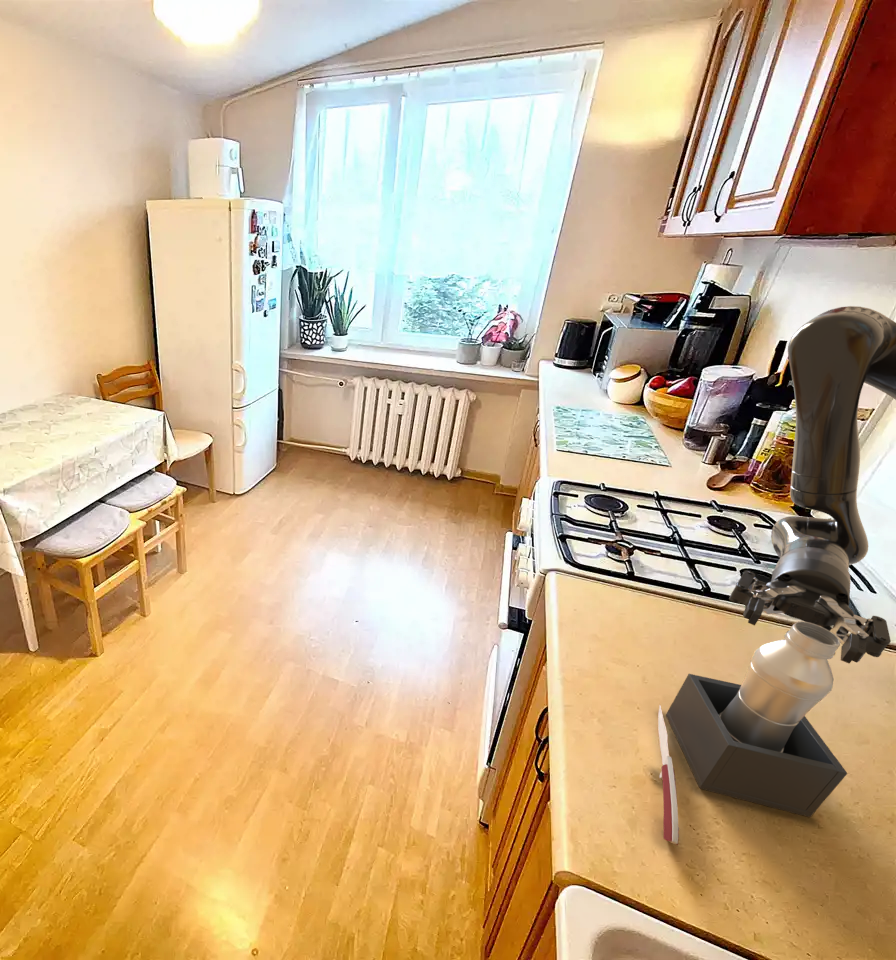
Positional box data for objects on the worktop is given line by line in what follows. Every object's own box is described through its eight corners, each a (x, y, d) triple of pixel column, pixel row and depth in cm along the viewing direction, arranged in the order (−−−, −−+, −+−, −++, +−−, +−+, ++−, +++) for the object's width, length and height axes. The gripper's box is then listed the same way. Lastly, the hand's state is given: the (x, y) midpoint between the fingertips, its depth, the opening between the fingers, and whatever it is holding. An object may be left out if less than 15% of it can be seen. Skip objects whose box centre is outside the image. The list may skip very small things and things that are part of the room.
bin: (759, 737, 67) (789, 694, 63) (810, 817, 58) (848, 773, 54) (665, 715, 70) (688, 673, 66) (699, 788, 61) (728, 744, 57)
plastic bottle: (717, 775, 61) (802, 650, 52) (690, 727, 67) (761, 607, 58) (782, 789, 60) (880, 663, 51) (748, 739, 66) (830, 617, 57)
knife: (676, 856, 54) (687, 839, 53) (661, 849, 55) (672, 832, 53) (659, 714, 70) (668, 699, 68) (648, 710, 70) (656, 695, 69)
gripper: (756, 538, 76) (738, 584, 66) (900, 584, 67) (905, 646, 57) (734, 579, 80) (714, 629, 70) (867, 628, 70) (867, 694, 60)
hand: (800, 637), depth 63 cm, fingers open, 8 cm apart
